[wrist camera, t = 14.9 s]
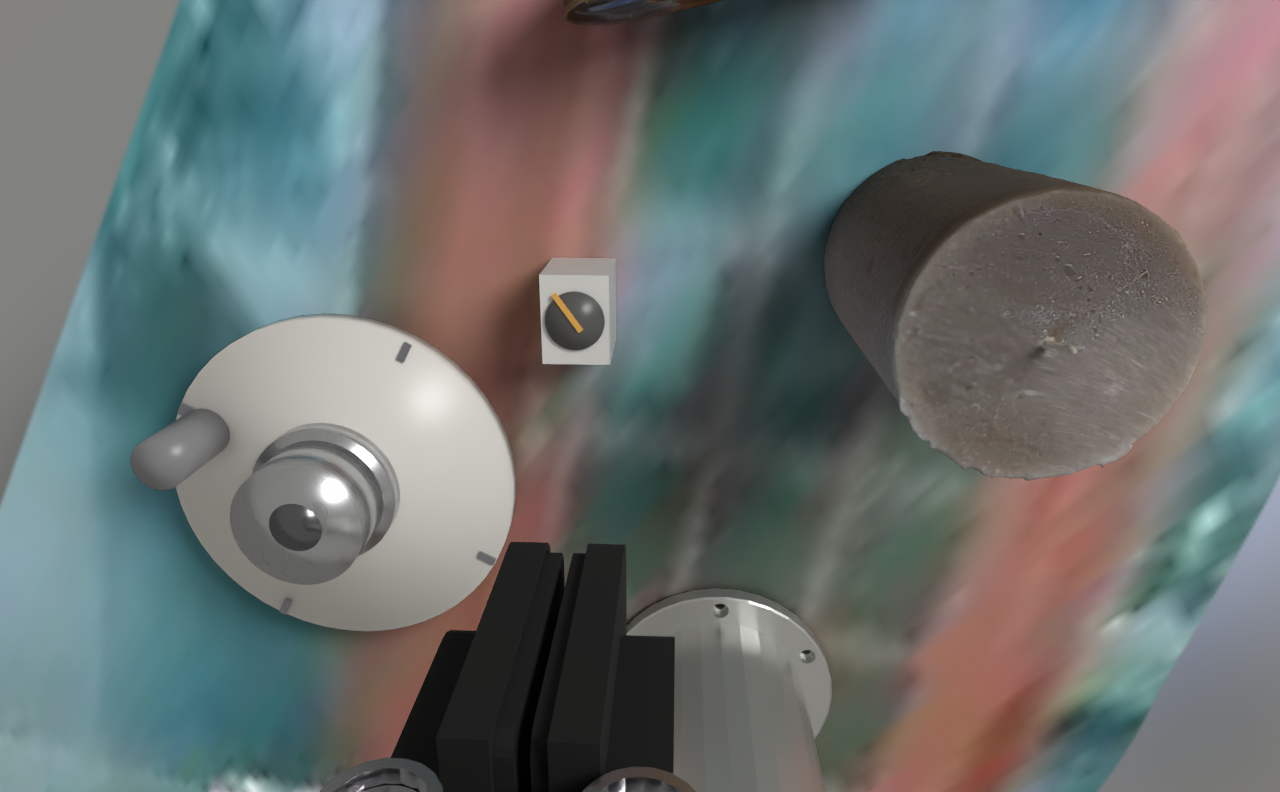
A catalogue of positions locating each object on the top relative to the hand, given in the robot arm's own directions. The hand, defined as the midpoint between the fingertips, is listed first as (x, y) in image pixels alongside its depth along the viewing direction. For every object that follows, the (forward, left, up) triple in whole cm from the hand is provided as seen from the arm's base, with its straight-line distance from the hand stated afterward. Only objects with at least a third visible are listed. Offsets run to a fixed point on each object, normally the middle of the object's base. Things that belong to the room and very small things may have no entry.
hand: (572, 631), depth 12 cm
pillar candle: (0, -13, -29) cm, 32 cm away
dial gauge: (-2, +3, -29) cm, 29 cm away
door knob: (-11, +16, -27) cm, 33 cm away
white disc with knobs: (-11, +15, -29) cm, 35 cm away
